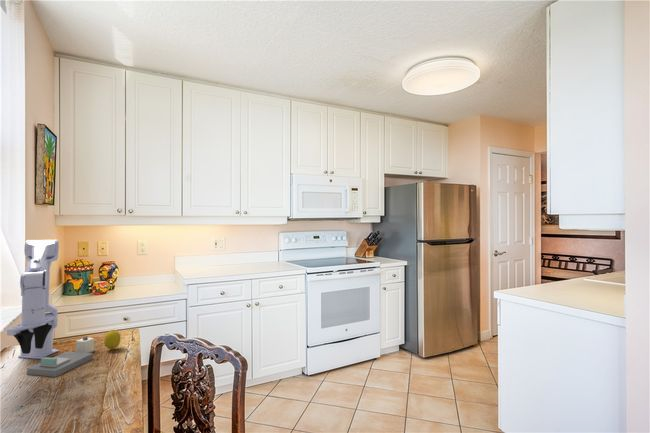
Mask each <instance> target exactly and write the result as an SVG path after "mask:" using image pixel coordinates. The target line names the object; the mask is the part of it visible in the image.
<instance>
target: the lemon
mask: <svg viewBox="0 0 650 433" xmlns="http://www.w3.org/2000/svg"><path fill="white" fill-rule="evenodd" d="M103 343H104V347H106V349H110V350H111V351H112V350H113V351H114V349H115V348H117V347H118V346H119V345H120V343H121V334H120V333H119V331H117V330H114V329H111V330H109V331H107V333H106V334H105V335H104V339H103Z"/></svg>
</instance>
